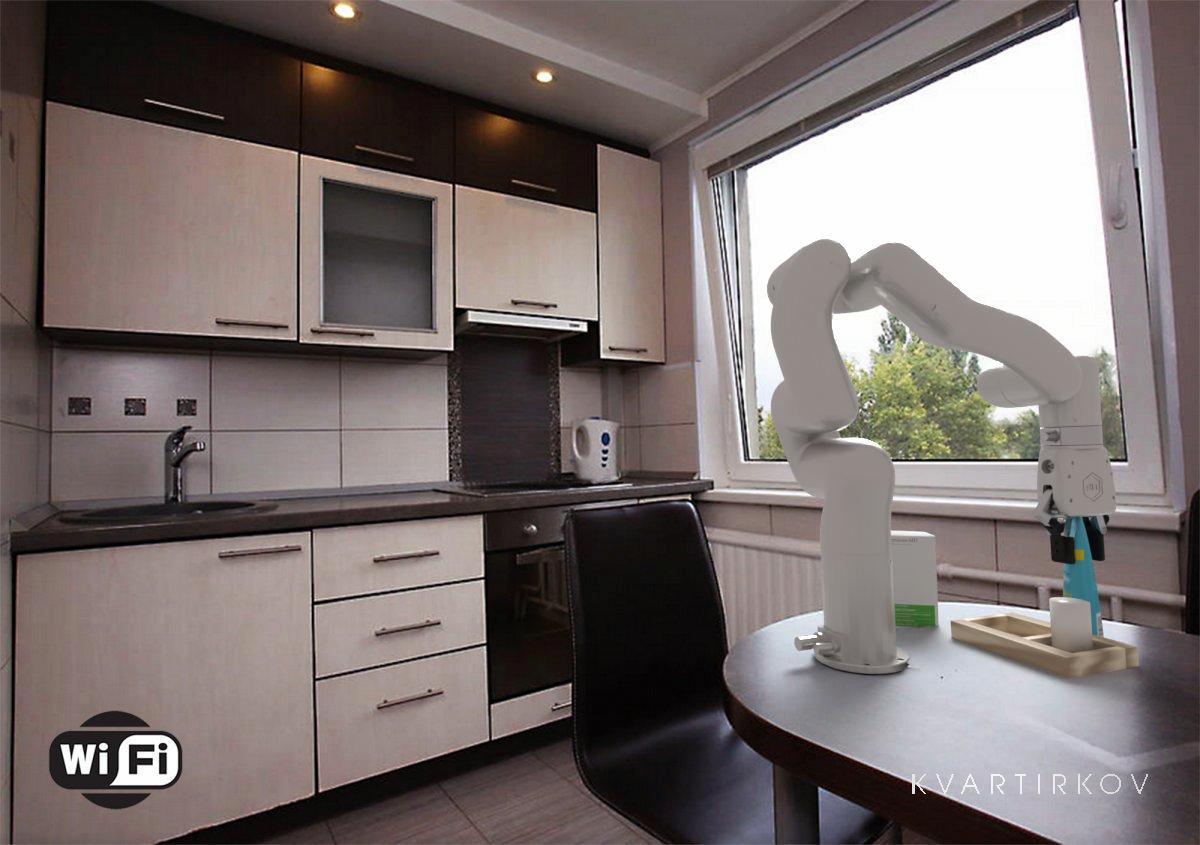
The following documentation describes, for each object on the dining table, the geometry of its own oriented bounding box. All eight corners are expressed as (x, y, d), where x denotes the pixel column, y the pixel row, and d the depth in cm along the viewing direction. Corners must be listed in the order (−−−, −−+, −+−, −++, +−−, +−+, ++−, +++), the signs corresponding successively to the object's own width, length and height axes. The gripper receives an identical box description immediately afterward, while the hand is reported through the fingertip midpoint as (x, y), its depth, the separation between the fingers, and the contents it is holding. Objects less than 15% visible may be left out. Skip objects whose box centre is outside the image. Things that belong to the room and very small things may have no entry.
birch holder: (1068, 686, 78) (1066, 657, 78) (951, 643, 96) (950, 620, 96) (1139, 674, 82) (1137, 646, 82) (1013, 635, 99) (1012, 612, 99)
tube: (1056, 636, 98) (1048, 511, 98) (1094, 638, 96) (1086, 511, 97) (1073, 651, 91) (1065, 517, 91) (1114, 654, 89) (1106, 517, 90)
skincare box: (885, 630, 103) (881, 535, 104) (877, 619, 110) (873, 529, 110) (941, 632, 101) (936, 535, 102) (930, 621, 108) (925, 529, 108)
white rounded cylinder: (1076, 669, 81) (1073, 606, 81) (1044, 658, 85) (1041, 599, 86) (1102, 665, 82) (1098, 603, 83) (1069, 654, 87) (1065, 595, 87)
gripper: (1050, 440, 89) (1058, 570, 88) (1139, 437, 93) (1147, 560, 93) (1003, 441, 96) (1010, 561, 95) (1088, 438, 101) (1095, 553, 100)
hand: (1078, 559), depth 94 cm, fingers closed on tube, 5 cm apart
